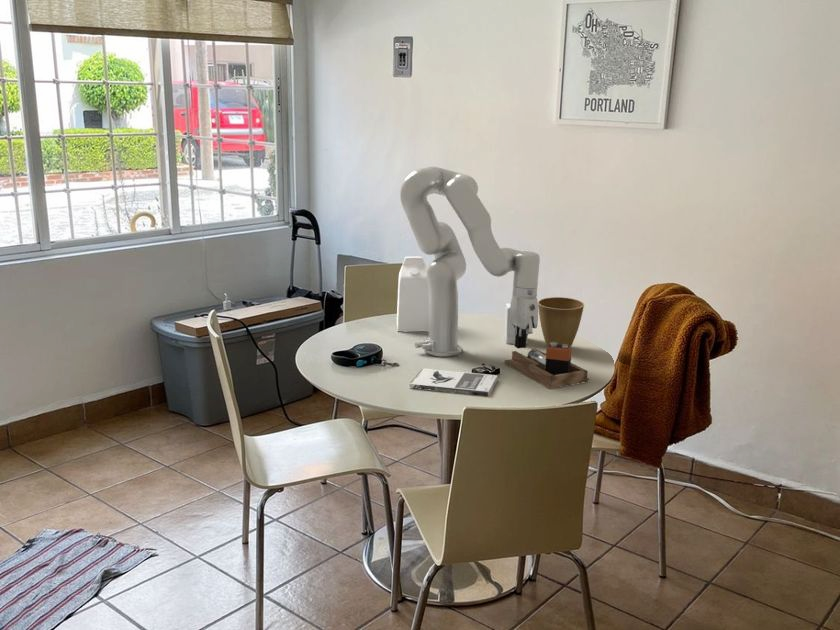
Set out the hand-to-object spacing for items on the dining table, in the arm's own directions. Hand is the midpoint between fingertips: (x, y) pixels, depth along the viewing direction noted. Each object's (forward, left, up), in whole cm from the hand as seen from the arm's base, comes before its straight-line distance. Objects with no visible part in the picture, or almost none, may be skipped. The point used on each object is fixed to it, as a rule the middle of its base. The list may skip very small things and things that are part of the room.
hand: (520, 347), depth 248 cm
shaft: (+1, -11, -3) cm, 12 cm away
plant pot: (+18, +4, -5) cm, 19 cm away
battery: (+1, -20, -3) cm, 20 cm away
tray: (+1, -13, -4) cm, 14 cm away
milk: (-15, +48, -5) cm, 51 cm away
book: (-29, -11, -5) cm, 32 cm away
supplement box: (+10, +18, -5) cm, 21 cm away
